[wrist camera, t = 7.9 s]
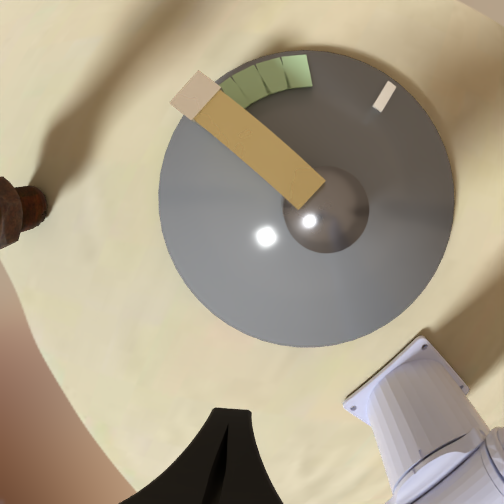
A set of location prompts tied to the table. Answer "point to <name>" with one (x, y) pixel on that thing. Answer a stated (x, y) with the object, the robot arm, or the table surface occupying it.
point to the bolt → (19, 210)
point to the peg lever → (282, 170)
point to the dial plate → (269, 199)
